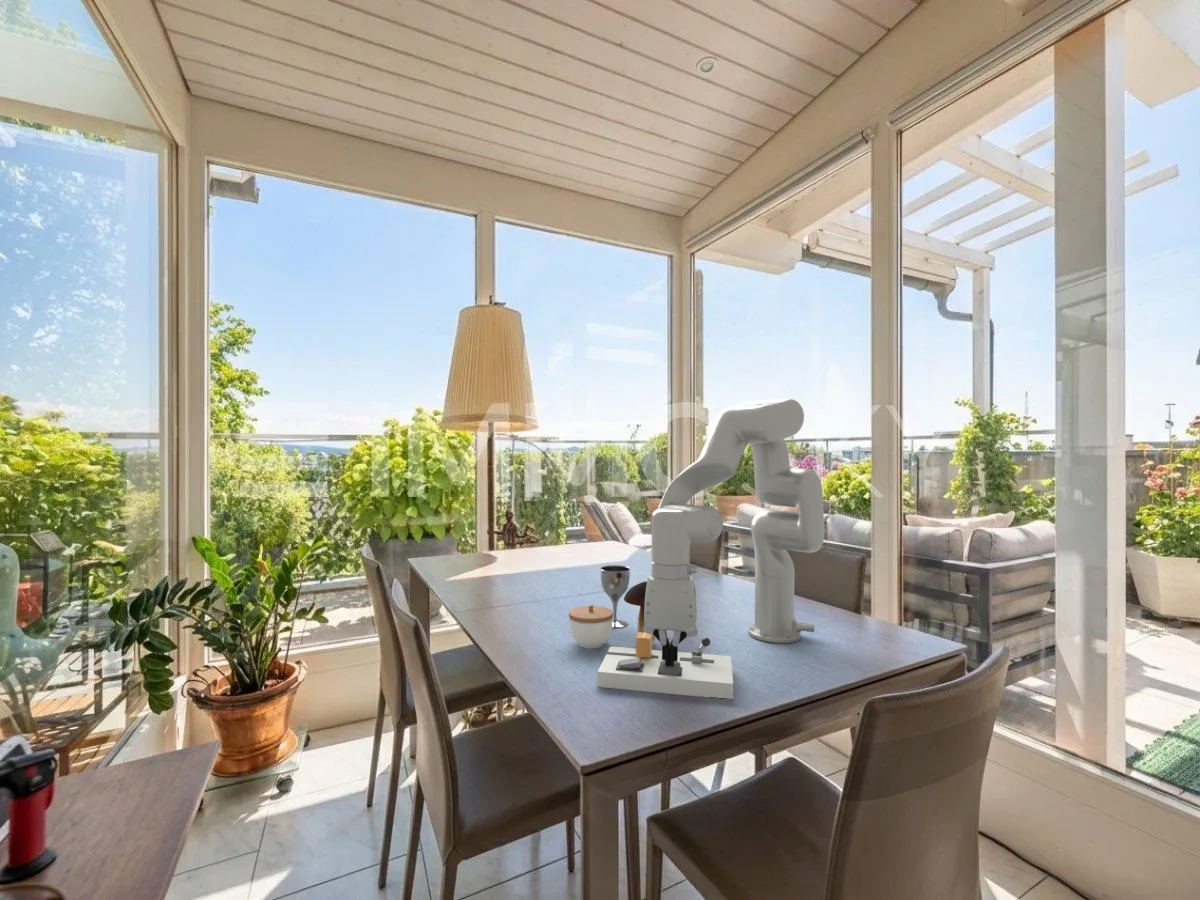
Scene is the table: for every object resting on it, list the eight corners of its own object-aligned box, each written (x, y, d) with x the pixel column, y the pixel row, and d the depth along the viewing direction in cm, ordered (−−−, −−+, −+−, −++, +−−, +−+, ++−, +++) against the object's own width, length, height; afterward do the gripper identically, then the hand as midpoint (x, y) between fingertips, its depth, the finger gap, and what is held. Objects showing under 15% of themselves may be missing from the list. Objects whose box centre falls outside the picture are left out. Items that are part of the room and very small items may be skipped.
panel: (730, 670, 115) (730, 648, 115) (733, 699, 101) (733, 675, 101) (610, 660, 120) (610, 639, 120) (597, 686, 106) (597, 663, 106)
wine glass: (630, 629, 141) (630, 571, 141) (599, 628, 141) (600, 571, 141) (629, 619, 149) (629, 565, 149) (600, 619, 149) (600, 565, 149)
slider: (652, 651, 116) (652, 632, 116) (650, 658, 112) (650, 638, 113) (638, 650, 117) (638, 631, 117) (635, 656, 113) (636, 637, 113)
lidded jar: (560, 641, 132) (560, 603, 132) (596, 633, 138) (596, 596, 138) (584, 655, 123) (584, 614, 123) (622, 646, 129) (622, 606, 129)
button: (680, 679, 109) (681, 660, 109) (679, 688, 105) (679, 668, 105) (661, 677, 109) (661, 658, 109) (659, 686, 105) (659, 666, 105)
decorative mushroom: (638, 655, 123) (638, 589, 123) (615, 640, 133) (615, 579, 133) (678, 647, 128) (678, 584, 128) (652, 633, 138) (653, 574, 138)
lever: (700, 658, 113) (712, 639, 113) (699, 662, 111) (712, 642, 111) (692, 653, 113) (704, 634, 113) (692, 657, 112) (704, 637, 111)
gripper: (709, 569, 109) (708, 660, 109) (635, 565, 112) (634, 654, 112) (708, 577, 102) (708, 675, 102) (630, 573, 105) (629, 668, 105)
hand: (669, 663), depth 107 cm, fingers closed
